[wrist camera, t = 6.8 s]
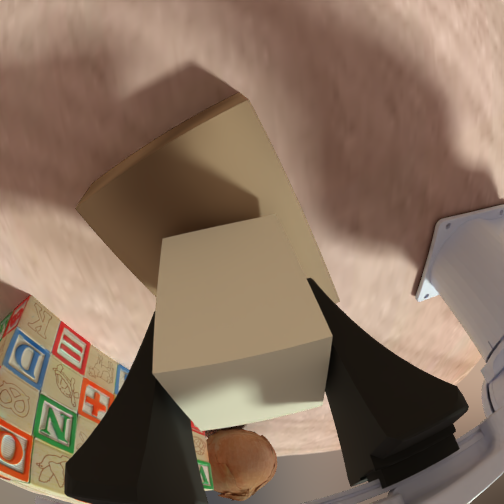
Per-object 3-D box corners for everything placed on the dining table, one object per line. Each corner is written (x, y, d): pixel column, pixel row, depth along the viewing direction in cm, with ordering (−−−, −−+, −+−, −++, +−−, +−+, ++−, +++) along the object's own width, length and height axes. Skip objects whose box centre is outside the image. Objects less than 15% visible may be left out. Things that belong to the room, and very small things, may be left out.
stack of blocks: (205, 410, 28) (219, 517, 19) (161, 422, 29) (168, 519, 20) (29, 291, 16) (-21, 464, 6) (-2, 321, 17) (-41, 457, 7)
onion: (213, 443, 36) (223, 505, 28) (178, 425, 30) (185, 502, 22) (277, 427, 35) (293, 493, 27) (253, 407, 29) (271, 491, 21)
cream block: (275, 214, 12) (332, 335, 7) (283, 294, 14) (322, 405, 10) (162, 238, 11) (152, 373, 7) (191, 314, 14) (201, 430, 9)
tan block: (238, 91, 12) (248, 99, 9) (322, 268, 19) (340, 301, 17) (94, 179, 13) (75, 208, 11) (214, 319, 20) (218, 355, 18)
